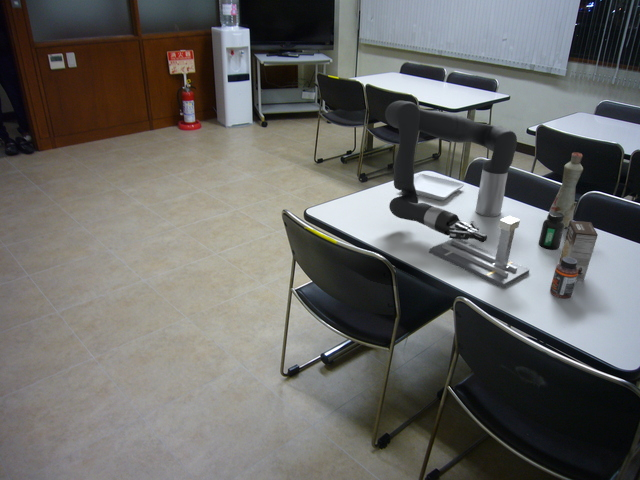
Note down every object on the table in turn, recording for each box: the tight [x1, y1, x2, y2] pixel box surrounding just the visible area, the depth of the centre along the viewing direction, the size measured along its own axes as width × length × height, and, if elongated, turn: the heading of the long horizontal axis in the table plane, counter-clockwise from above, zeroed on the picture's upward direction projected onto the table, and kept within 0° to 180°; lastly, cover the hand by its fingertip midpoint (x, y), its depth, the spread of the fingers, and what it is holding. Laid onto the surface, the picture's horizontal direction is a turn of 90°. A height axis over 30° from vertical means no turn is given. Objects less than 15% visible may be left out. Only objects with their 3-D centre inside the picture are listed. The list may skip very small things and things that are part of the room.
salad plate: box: [414, 173, 465, 201], centre depth 224 cm, size 21×21×3 cm
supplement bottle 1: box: [538, 211, 565, 251], centre depth 178 cm, size 7×7×12 cm
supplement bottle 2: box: [549, 257, 578, 299], centre depth 151 cm, size 6×6×11 cm
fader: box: [492, 215, 521, 271], centre depth 159 cm, size 5×4×16 cm
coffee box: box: [558, 220, 598, 282], centre depth 161 cm, size 9×6×16 cm
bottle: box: [546, 152, 584, 229], centre depth 191 cm, size 9×9×28 cm
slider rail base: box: [428, 238, 530, 289], centre depth 168 cm, size 14×28×3 cm, turn 40°
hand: (485, 239), depth 164 cm, fingers closed
